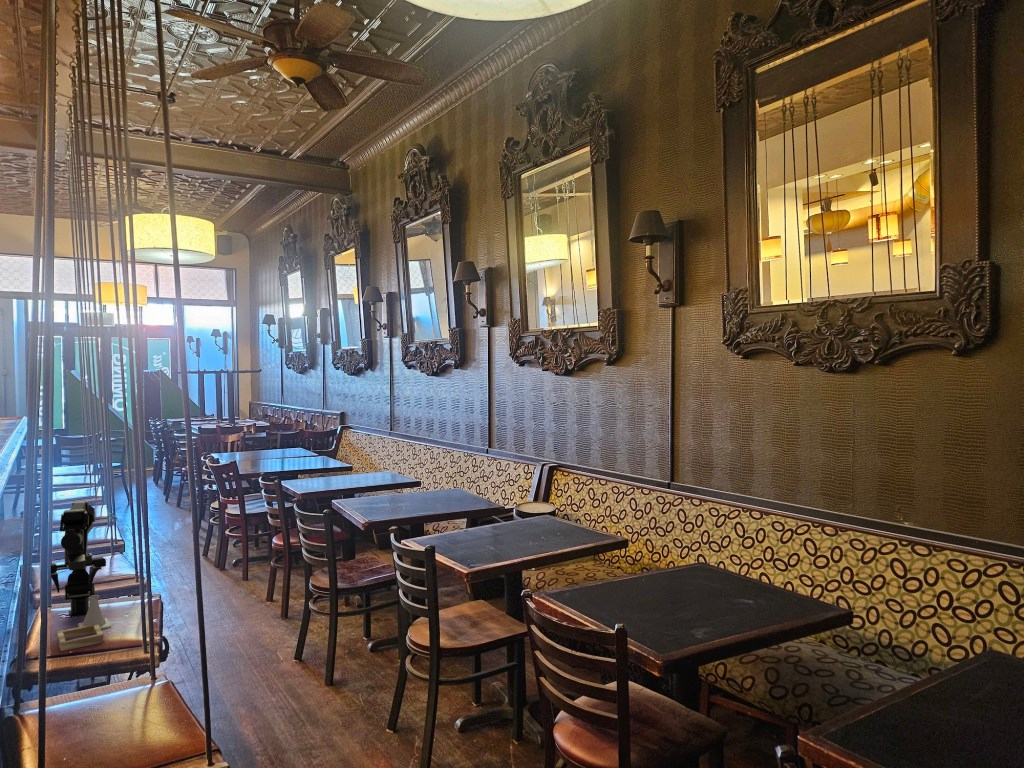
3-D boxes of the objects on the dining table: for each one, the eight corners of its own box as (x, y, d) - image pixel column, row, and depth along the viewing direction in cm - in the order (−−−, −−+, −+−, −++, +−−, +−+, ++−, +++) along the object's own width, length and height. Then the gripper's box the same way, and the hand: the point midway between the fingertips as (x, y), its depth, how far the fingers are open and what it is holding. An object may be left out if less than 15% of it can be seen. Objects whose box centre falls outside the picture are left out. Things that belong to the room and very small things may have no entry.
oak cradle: (57, 638, 231) (56, 631, 231) (98, 630, 238) (98, 623, 238) (60, 651, 222) (60, 643, 222) (103, 642, 229) (103, 634, 229)
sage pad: (77, 625, 243) (77, 623, 243) (106, 619, 248) (106, 617, 248) (81, 633, 236) (81, 631, 236) (111, 627, 241) (110, 625, 241)
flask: (102, 627, 240) (102, 599, 239) (79, 629, 238) (78, 601, 237) (108, 619, 247) (108, 592, 246) (86, 621, 245) (85, 593, 244)
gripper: (45, 552, 228) (45, 599, 227) (109, 544, 240) (109, 589, 239) (41, 548, 237) (40, 593, 236) (103, 540, 249) (103, 584, 248)
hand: (74, 590), depth 240 cm, fingers open, 9 cm apart
